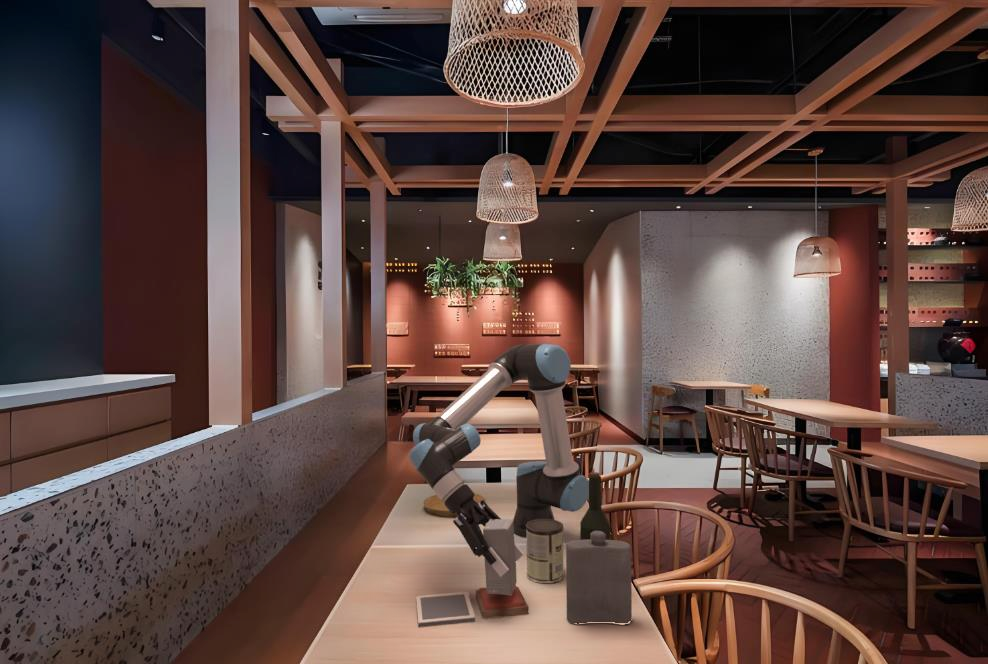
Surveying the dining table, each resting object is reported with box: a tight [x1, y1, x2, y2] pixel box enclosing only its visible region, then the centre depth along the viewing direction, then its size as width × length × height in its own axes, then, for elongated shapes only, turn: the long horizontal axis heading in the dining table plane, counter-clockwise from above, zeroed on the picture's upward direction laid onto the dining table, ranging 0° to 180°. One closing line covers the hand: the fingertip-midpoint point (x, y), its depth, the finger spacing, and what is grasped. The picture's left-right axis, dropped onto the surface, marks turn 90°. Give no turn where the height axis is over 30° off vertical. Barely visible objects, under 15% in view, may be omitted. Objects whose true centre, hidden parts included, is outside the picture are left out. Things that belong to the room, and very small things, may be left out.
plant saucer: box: [422, 493, 487, 517], centre depth 212 cm, size 24×24×3 cm
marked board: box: [415, 591, 476, 628], centre depth 132 cm, size 13×13×1 cm
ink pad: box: [475, 585, 529, 619], centre depth 134 cm, size 11×11×2 cm
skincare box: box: [482, 518, 518, 595], centre depth 135 cm, size 8×7×16 cm
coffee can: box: [525, 519, 565, 584], centre depth 151 cm, size 10×10×14 cm
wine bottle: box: [579, 471, 612, 540], centre depth 143 cm, size 8×8×30 cm
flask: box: [565, 531, 633, 624], centre depth 128 cm, size 15×6×20 cm, turn 88°
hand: (512, 565), depth 133 cm, fingers closed on skincare box, 9 cm apart
